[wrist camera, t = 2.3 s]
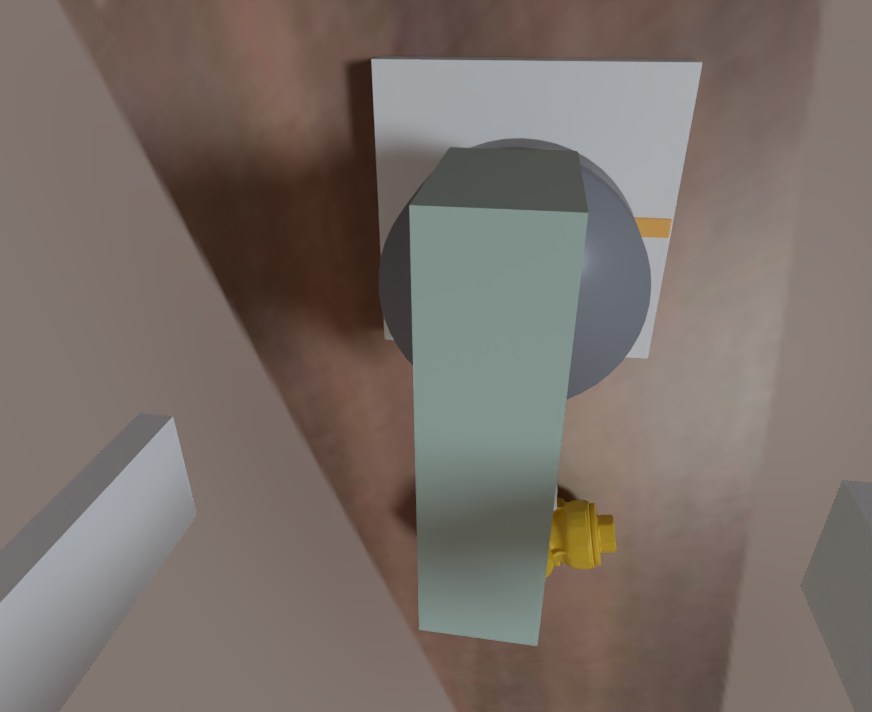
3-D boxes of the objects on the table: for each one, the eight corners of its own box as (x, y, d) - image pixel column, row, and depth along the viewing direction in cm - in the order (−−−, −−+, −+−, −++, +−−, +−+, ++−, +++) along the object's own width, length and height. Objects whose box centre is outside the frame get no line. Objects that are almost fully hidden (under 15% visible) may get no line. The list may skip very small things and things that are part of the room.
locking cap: (391, 104, 22) (243, 198, 11) (665, 109, 20) (782, 220, 10) (401, 391, 27) (308, 629, 17) (615, 409, 26) (658, 678, 16)
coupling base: (379, 56, 27) (335, 70, 22) (695, 59, 25) (735, 75, 20) (391, 326, 34) (358, 391, 28) (643, 344, 32) (663, 417, 26)
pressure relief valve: (615, 542, 38) (452, 546, 40) (597, 354, 34) (420, 371, 37) (621, 606, 33) (435, 606, 35) (601, 393, 29) (395, 409, 32)
